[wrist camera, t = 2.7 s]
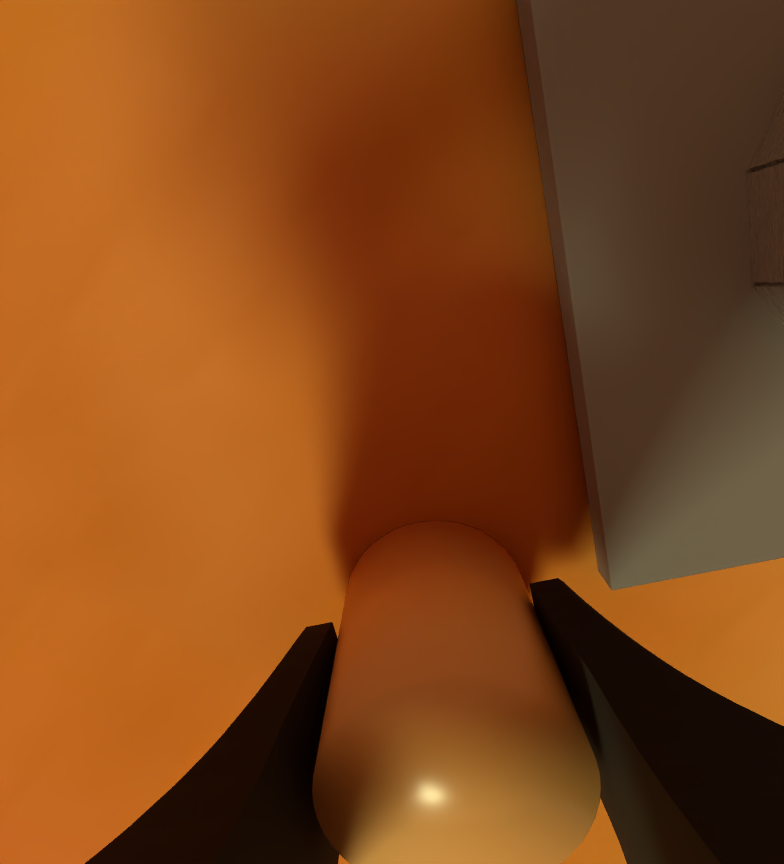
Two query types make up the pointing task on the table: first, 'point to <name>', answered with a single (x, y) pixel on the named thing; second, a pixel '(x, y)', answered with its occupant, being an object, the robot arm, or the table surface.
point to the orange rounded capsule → (449, 713)
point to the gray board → (663, 272)
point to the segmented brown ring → (768, 214)
